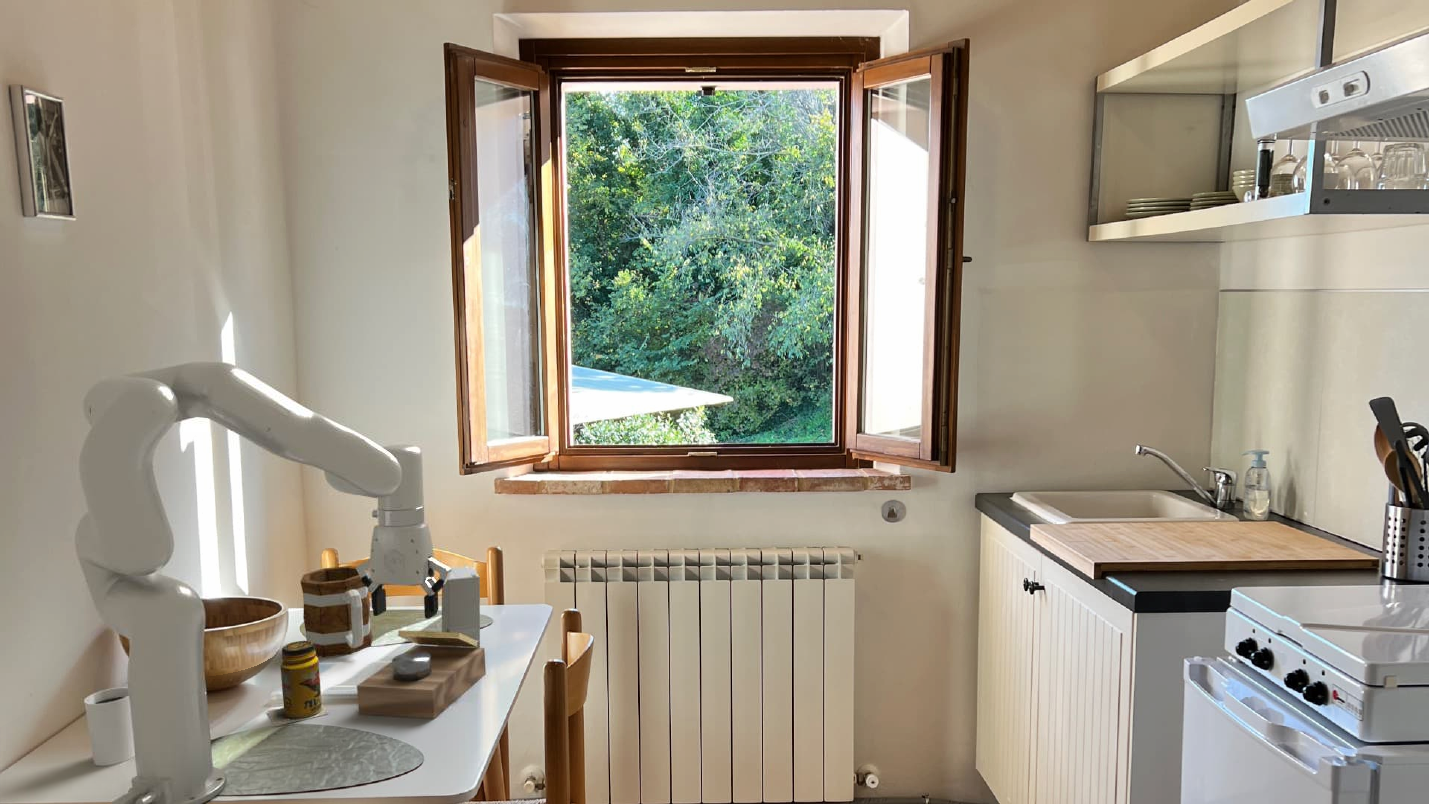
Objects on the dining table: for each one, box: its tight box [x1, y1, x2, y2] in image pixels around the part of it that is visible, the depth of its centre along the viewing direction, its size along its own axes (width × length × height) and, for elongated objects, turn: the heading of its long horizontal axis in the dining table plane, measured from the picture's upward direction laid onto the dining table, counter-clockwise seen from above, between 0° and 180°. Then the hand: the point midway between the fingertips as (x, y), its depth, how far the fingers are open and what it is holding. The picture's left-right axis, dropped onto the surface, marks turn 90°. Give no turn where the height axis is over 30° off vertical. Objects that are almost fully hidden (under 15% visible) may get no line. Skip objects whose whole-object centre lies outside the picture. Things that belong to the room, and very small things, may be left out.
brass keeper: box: [397, 630, 481, 647], centre depth 180 cm, size 9×12×1 cm
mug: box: [299, 565, 374, 658], centre depth 198 cm, size 20×14×15 cm
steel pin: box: [391, 651, 432, 682], centre depth 170 cm, size 6×6×8 cm
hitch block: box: [356, 644, 487, 720], centre depth 175 cm, size 20×14×5 cm
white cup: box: [83, 686, 135, 767], centre depth 153 cm, size 7×7×10 cm
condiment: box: [267, 640, 329, 727], centre depth 167 cm, size 7×8×12 cm
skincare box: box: [441, 565, 481, 648], centre depth 197 cm, size 8×7×16 cm
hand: (405, 615), depth 169 cm, fingers open, 9 cm apart
